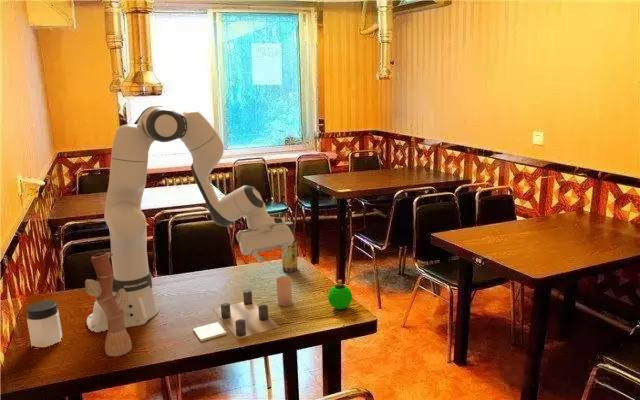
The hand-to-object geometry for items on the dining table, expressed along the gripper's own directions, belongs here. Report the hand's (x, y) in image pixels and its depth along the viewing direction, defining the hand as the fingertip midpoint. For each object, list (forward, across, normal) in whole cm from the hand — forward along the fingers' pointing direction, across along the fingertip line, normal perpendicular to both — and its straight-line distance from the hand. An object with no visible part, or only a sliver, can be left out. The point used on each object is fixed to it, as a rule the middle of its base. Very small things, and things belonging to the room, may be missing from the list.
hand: (273, 259), depth 181 cm
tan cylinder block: (+15, 0, +4) cm, 16 cm away
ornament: (+25, +14, -6) cm, 29 cm away
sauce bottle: (-4, +16, +24) cm, 29 cm away
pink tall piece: (+16, -56, +3) cm, 59 cm away
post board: (+18, -16, +2) cm, 24 cm away
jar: (+4, -73, +15) cm, 75 cm away
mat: (+20, -29, -1) cm, 35 cm away
